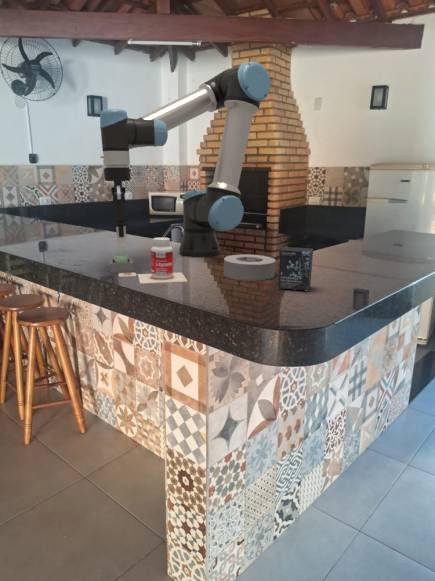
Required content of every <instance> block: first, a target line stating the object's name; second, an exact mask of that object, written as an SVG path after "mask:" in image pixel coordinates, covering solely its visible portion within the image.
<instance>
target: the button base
mask: <svg viewBox="0 0 435 581" xmlns="http://www.w3.org/2000/svg"><path fill="white" fill-rule="evenodd" d="M108 266H109V274H119V273H135V271H134V268H135V267H134V259H133V258H128V262H123V263H115V261H114V259H113V258H112V259H111V258H110V259H109V265H108Z"/></svg>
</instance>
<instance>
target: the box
mask: <svg viewBox="0 0 435 581" xmlns="http://www.w3.org/2000/svg"><path fill="white" fill-rule="evenodd" d="M313 254H314V249H313V247H312V248H309V247H308V248H307V247H294V246H293V247H291V246H283V247H281V249H280V250H279V264H278V266H279V268H278V269H279V270H278V285H277V286H278V287H277V288H279V289H278V290H285V289H293V290H292V291H296V290H308V289H309V290H310V288H311V284H312V269H313V256H314V255H313ZM309 287H310V288H309ZM295 289H296V290H295ZM309 290H308V291H309Z"/></svg>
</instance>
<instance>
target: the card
mask: <svg viewBox="0 0 435 581" xmlns="http://www.w3.org/2000/svg"><path fill="white" fill-rule="evenodd" d="M126 277H127V278H129V277H130V278H131V277H132V278H133V277H135V278H136V277H137V273H136V272H134V273H118V278H126Z"/></svg>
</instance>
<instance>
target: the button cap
mask: <svg viewBox="0 0 435 581" xmlns="http://www.w3.org/2000/svg"><path fill="white" fill-rule="evenodd" d="M128 256H129V255H128V254H117V255H116V254H115V255H114V257H113V258H114V261H115V263H123V262H128V259H129V257H128Z"/></svg>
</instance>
